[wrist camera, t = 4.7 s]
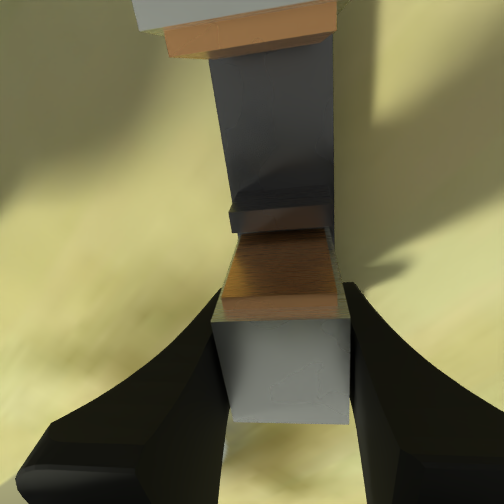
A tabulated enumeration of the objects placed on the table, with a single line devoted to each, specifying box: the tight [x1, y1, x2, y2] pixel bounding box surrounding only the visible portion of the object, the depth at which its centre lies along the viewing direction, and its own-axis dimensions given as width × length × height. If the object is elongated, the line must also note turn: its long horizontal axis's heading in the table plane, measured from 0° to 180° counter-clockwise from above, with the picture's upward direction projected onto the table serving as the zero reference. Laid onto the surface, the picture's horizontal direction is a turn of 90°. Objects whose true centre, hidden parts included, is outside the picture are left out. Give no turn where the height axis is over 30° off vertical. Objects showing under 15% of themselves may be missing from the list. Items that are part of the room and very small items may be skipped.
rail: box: [132, 0, 351, 246], centre depth 10 cm, size 18×4×8 cm, turn 7°
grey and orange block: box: [211, 227, 351, 424], centre depth 12 cm, size 4×4×6 cm
